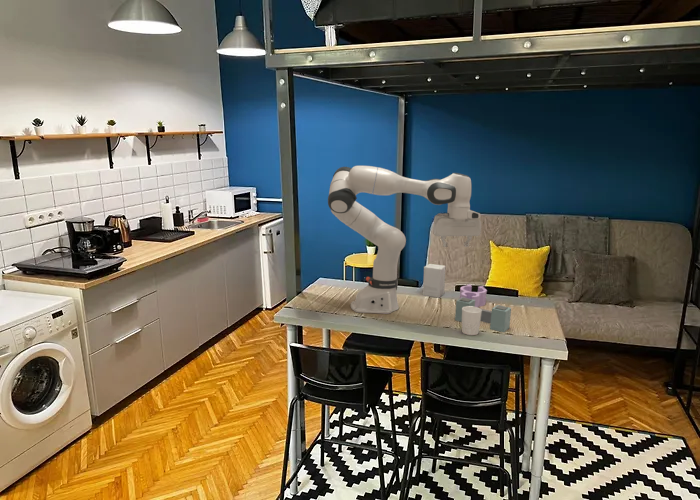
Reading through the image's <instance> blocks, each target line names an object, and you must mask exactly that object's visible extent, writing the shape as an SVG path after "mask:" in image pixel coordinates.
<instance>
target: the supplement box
mask: <svg viewBox="0 0 700 500" xmlns="http://www.w3.org/2000/svg"><path fill="white" fill-rule="evenodd" d="M446 270H447V269H446V265H443V264H442V265H441V264H433V263H428V264H427V265H425V266H423V279H422V281H423V283H422V284H423V286H422V296H426V297H430V298H431V297H432V298H441V297H442V296H443V295H444V294H445V285H446V284H445V283H446Z"/></svg>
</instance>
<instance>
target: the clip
mask: <svg viewBox="0 0 700 500" xmlns="http://www.w3.org/2000/svg"><path fill="white" fill-rule="evenodd" d="M472 289H473V287H472V285H471V284H470V283H469V284H467V285H463V286H461V287H460V290H459V299H460V298H462V297H463V298H468V299H473V300H475V307H478V308H480V307H484V306H485V305H486V301H487V292H488V290H487V289H486V288H485V287H484V286H483V285H481V286H477V291H472Z"/></svg>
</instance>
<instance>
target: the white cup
mask: <svg viewBox="0 0 700 500" xmlns="http://www.w3.org/2000/svg"><path fill="white" fill-rule="evenodd" d="M481 309H482V308H481V307H473V306H466V307H463V308H462V322H461V332H462V333H463V334H464V335H468V336H477V335H478V334H479V331H480V326H481V322H482V321H481V313H482V310H481Z"/></svg>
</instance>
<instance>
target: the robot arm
mask: <svg viewBox="0 0 700 500" xmlns="http://www.w3.org/2000/svg"><path fill="white" fill-rule="evenodd" d="M360 193H367V194H370V195H376V196H391V195H395V194H398V193H399V194H400V193H403V194H411V195H415V196H416V195H417V196H420V197H424V199H427V201H429V202H430V203H431V204H433V205H436V206H437V205H438V206H441V205H445V204H446V205H447V213H446V212H445V213H441V212H440V213H437V214H436V215H434V218H433V222H434V223H433V229H432V234H433V235H434V236H436V237H440V239H441V242H442V247H444V248H447V247H448V245H449V243H448V242H447V241H446V239H447V237H466V238H467V239H466V240H465V241H463V247H466V248H468V247H470V242H471V241H472V240H473V237H479V236H480V235H481V233H482V221H481V217H482V214H481V213H480V212H476V211H474V210H472V209H471V204H470V200H471V197H472V180H471V177H470V176H469V175H467V174H463V173H460V172H452V174H449V175H448V176H446V177H444V178H442V179H441V178H432V179H426V180H420V179H415V178H409V177H405V176H402V175H400V174H398V173H396V172H395V171H391V170H390V169H386V168H383V167H378V166H372V165H354V166H353V167H349V166H341V167H339V168H337V169H336V170H335V172H334V174H333V176H332V180H331V182H330V185H329V192H328V195H327V196H328V197H327V205H328V207H329V209H330V212H331V213H332V215H334V217H335V218H336V219H338V220H339V221H340V222H341V223H343V224H344V225H345V226H346V227H349V228H350V229H351V230H353V231H354V232H356V233H358V234H359V235H361V236H362V237H363V238H365V239H366V240H368V241H369V242H370V243H372V244H374V245H375V246H377V249H378V250H377V253H376V257H375V258H374V260H373V261H372V263H373V264H372V265H373V266H372V277H370V276H366V278H365V280H366V282H367V283H368V285H366V286H365V287H364V288H362V289H360V290H359V291H358V292H357V293H356V295H355V300H353V301H351V302H350V308H351V310H352V311H353V312H355V313H359V314H360V313H362V314H363V313H364V314H387V315H388V314H391V313H393V312H395V311H397V310H399V302H398V296H397V295H398V294H397V290H398V287H399V285H398V284H399V283H398V278H397V277H398V275H397V274H398V261H399V258H400V255H401V251H402V250H403V249H404V248H405V247H406V243H407V242H406V241H407V239H406V236H405V233H403V231H401V229H399V228H397V227H395V226H392V225H391V224H388V223H386V222H384V220H382V219H381V218H379V217H378V216H377V214H375V213H374V212H372V211H371V210H369V209H368V208H366V207H365V206H363V205H362V204H360V203H359V202H358V201H357V198H358V197H357V195H358V194H360Z"/></svg>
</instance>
